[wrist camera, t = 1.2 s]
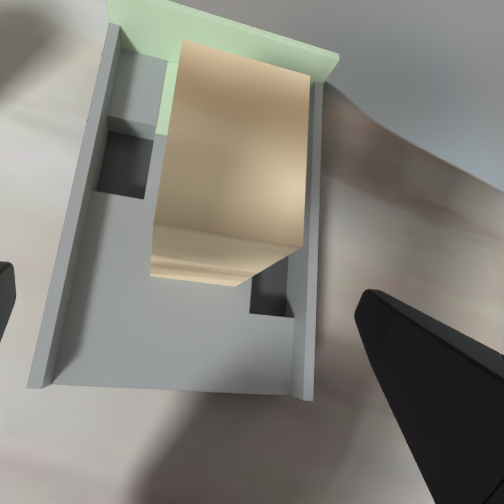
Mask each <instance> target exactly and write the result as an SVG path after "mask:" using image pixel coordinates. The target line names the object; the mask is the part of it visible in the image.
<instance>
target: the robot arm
mask: <svg viewBox="0 0 504 504" xmlns="http://www.w3.org/2000/svg"><path fill="white" fill-rule="evenodd" d="M15 300H16V287H15V275H14V267H13V265H12V264H11V263H10V262H2V261H0V342H1V339H2V336H3V334H4V331H5V328H6V325H7V323H8V320H9V317H10V315H11V312H12V309H13V307H14V304H15ZM354 318H355V322H356V325H357V328H358V331H359V333H360V336H361V339H362V342H363V345H364V348H365V351H366V353H367V356H368V359H369V362H370V364H371V367H372V369H373V371H374V373H375V376H376V378H377V380H378V382H379V384H380V386H381V388H382V390H383V393H384V395H385V397H386V399H387V401H388V403H389V405H390V408H391V410H392V412H393V414H394V416H395V418H396V420H397V423H398V425H399V427H400V429H401V431H402V433H403V435H404V438H405V440H406V442H407V444H408V446H409V448H410V450H411V452H412V455H413V457H414V459H415V461H416V463H417V465H418V467H419V470H420V472H421V474H422V476H423V478H424V480H425V482H426V485H427V487H428V489H429V491H430V493H431V495H432V497H433V499H434V502H435V504H504V355H503V354H501V355H500V353H499V352H497V351H495V350H493V349H491V348H489V347H487V346H485V345H484V344H482V343H480V342H478V341H476V340H474V339H472V338H470V337H468V336H466V335H464V334H463V333H461V332H459V331H457V330H455V329H453V328H451V327H449V326H447V325H445V324H443V323H441V322H440V321H438V320H436V319H434V318H432V317H430V316H428V315H426V314H424V313H422V312H420V311H419V310H417V309H415V308H413V307H411V306H409V305H407V304H405V303H403V302H401V301H399V300H398V299H396V298H394V297H392V296H390V295H388V294H386V293H384V292H382V291H380V290H373V289H367V290H365V291H364V292H363V294H362V296H361V298H360V301H359V303H358V306H357V308H356V310H355V314H354Z"/></svg>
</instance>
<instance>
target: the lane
mask: <svg viewBox="0 0 504 504" xmlns="http://www.w3.org/2000/svg"><path fill="white" fill-rule="evenodd" d="M107 7H108V16H109V26H108V30H107V34H106V39H105V43H104V48H103V52H102V57H101V61H100V65H99V70H98V74H97V79H96V83H95V88H94V92H93V96H92V101H91V105H90V110H89V114H88V119H87V123H86V127H85V132H84V136H83V141H82V145H81V150H80V154H79V158H78V163H77V167H76V172H75V176H74V181H73V185H72V189H71V194H70V198H69V203H68V207H67V212H66V216H65V220H64V225H63V229H62V234H61V238H60V243H59V247H58V251H57V256H56V260H55V265H54V269H53V274H52V278H51V282H50V287H49V291H48V296H47V300H46V305H45V309H44V313H43V318H42V322H41V327H40V331H39V336H38V340H37V344H36V349H35V353H34V358H33V362H32V367H31V371H30V375H29V380H28V384H27V388H34V389H42V388H44V387H46V386H49V385H51V384H56V385H77V386H97V387H118V388H139V389H159V390H180V391H201V392H222V393H242V394H263V395H284V396H292V397H295V398H297V399H300V400H303V401H313V393H314V361H315V330H316V298H317V267H318V235H319V203H320V172H321V140H322V109H323V83H324V82H325V80H326V79H327V78H328V76H329V75H330V73H331V72H332V70H333V69H334V67H335V66H336V64H337V63H338V62H339V54H337V53H334V52H331V51H328V50H325V49H322V48H318V47H315V46H312V45H309V44H305V43H302V42H299V41H296V40H293V39H290V38H286V37H283V36H280V35H277V34H274V33H270V32H267V31H264V30H261V29H258V28H254V27H251V26H248V25H245V24H242V23H238V22H235V21H232V20H228V19H225V18H222V17H219V16H216V15H213V14H209V13H206V12H203V11H200V10H196V9H193V8H190V7H187V6H184V5H181V4H177V3H174V2H171V1H168V0H107ZM182 39H184V40H188V41H191V42H195V43H198V44H202V45H205V46H209V47H212V48H216V49H219V50H223V51H226V52H229V53H233V54H236V55H240V56H243V57H247V58H250V59H254V60H257V61H261V62H264V63H267V64H271V65H274V66H278V67H281V68H285V69H288V70H292V71H295V72H299V73H302V74H306V75H309V76H310V94H309V117H308V141H307V164H306V187H305V210H304V234H303V247H301V248H300V249H298V250H296V251H295V252H293V253H291V254H289V255H288V256H286V257H284V258H283V259H281V260H279V261H278V262H276V263H274V264H273V265H271V266H269V267H268V268H266V269H264V270H263V271H261V272H259V273H257V274H256V275H254V276H252V277H251V278H249V279H247V280H246V281H244V282H242V283H241V284H239V285H237V286H236V287H233V286H225V285H217V284H209V283H201V282H193V281H185V280H177V279H169V278H161V277H153V276H150V267H151V252H152V237H153V223H154V216H155V210H156V204H157V197H158V191H159V185H160V178H161V172H162V166H163V159H164V153H165V146H166V140H167V134H168V127H169V121H170V115H171V108H172V102H173V96H174V89H175V83H176V77H177V70H178V64H179V58H180V51H181V45H182Z"/></svg>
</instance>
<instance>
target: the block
mask: <svg viewBox="0 0 504 504" xmlns="http://www.w3.org/2000/svg"><path fill="white" fill-rule="evenodd" d="M309 94H310V76H309V75H306V74H302V73H299V72H295V71H292V70H288V69H285V68H281V67H278V66H274V65H271V64H267V63H264V62H261V61H257V60H254V59H250V58H247V57H243V56H240V55H236V54H233V53H229V52H226V51H223V50H219V49H216V48H212V47H209V46H205V45H202V44H198V43H195V42H191V41H188V40H184V39H182V45H181V51H180V58H179V64H178V70H177V77H176V83H175V89H174V96H173V102H172V108H171V115H170V121H169V127H168V134H167V140H166V146H165V153H164V159H163V166H162V172H161V178H160V185H159V191H158V197H157V204H156V210H155V216H154V223H153V237H152V252H151V267H150V276H153V277H161V278H169V279H177V280H185V281H193V282H201V283H209V284H217V285H225V286H233V287H236V286H237V285H239V284H241V283H242V282H244V281H246V280H247V279H249V278H251V277H252V276H254V275H256V274H257V273H259V272H261V271H263V270H264V269H266V268H268V267H269V266H271V265H273V264H274V263H276V262H278V261H279V260H281V259H283V258H284V257H286V256H288V255H289V254H291V253H293V252H295V251H296V250H298V249H300V248H301V247H303V234H304V210H305V187H306V164H307V141H308V117H309Z"/></svg>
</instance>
